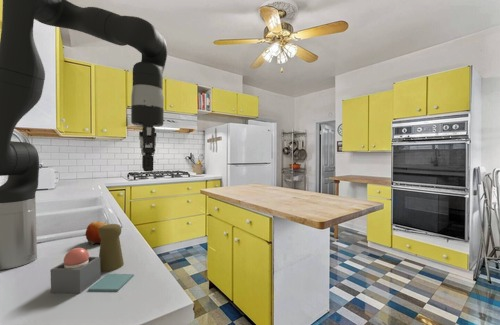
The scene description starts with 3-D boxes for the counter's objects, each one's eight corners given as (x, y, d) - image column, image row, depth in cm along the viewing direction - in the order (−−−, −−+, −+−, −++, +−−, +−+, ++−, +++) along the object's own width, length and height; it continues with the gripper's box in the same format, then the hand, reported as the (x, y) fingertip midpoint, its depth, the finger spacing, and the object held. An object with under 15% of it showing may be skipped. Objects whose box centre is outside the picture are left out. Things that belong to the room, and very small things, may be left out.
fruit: (74, 240, 77) (88, 217, 81) (97, 246, 83) (109, 224, 86) (85, 245, 73) (99, 220, 76) (108, 251, 78) (120, 227, 82)
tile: (88, 290, 51) (88, 288, 51) (107, 275, 57) (107, 273, 57) (117, 291, 50) (117, 289, 50) (133, 275, 57) (133, 274, 57)
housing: (51, 292, 50) (50, 269, 50) (74, 277, 56) (74, 256, 56) (80, 293, 50) (79, 269, 50) (100, 277, 56) (100, 256, 56)
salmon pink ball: (58, 276, 51) (57, 252, 51) (74, 266, 55) (74, 244, 55) (79, 276, 51) (78, 252, 50) (94, 266, 55) (93, 244, 55)
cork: (111, 272, 58) (110, 229, 58) (91, 270, 60) (90, 227, 59) (128, 262, 64) (128, 222, 64) (110, 260, 65) (109, 221, 65)
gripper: (131, 109, 64) (131, 168, 65) (130, 98, 52) (130, 172, 52) (160, 112, 68) (160, 168, 68) (166, 102, 55) (166, 171, 55)
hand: (147, 170), depth 60 cm, fingers open, 8 cm apart
